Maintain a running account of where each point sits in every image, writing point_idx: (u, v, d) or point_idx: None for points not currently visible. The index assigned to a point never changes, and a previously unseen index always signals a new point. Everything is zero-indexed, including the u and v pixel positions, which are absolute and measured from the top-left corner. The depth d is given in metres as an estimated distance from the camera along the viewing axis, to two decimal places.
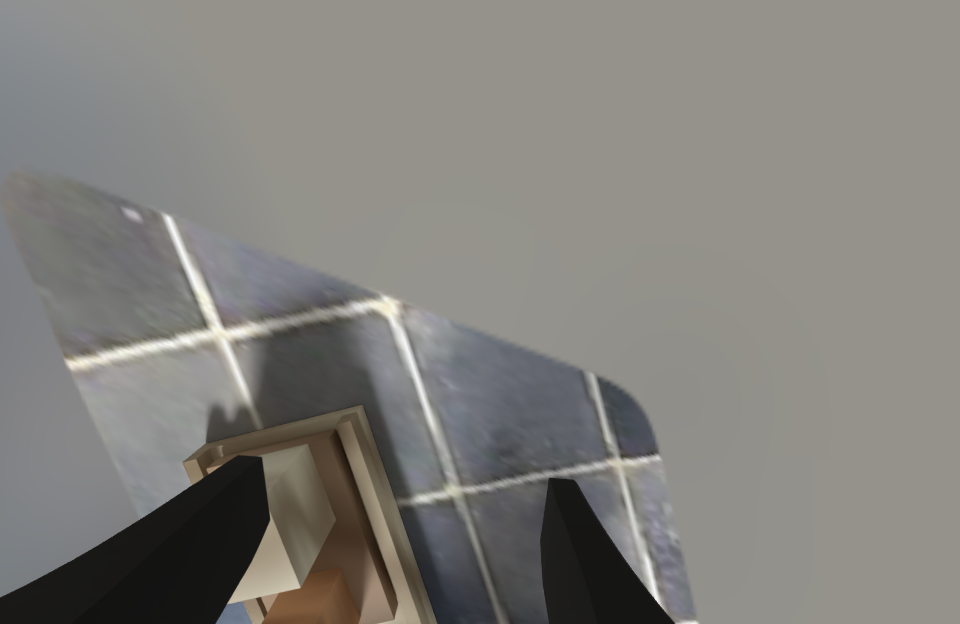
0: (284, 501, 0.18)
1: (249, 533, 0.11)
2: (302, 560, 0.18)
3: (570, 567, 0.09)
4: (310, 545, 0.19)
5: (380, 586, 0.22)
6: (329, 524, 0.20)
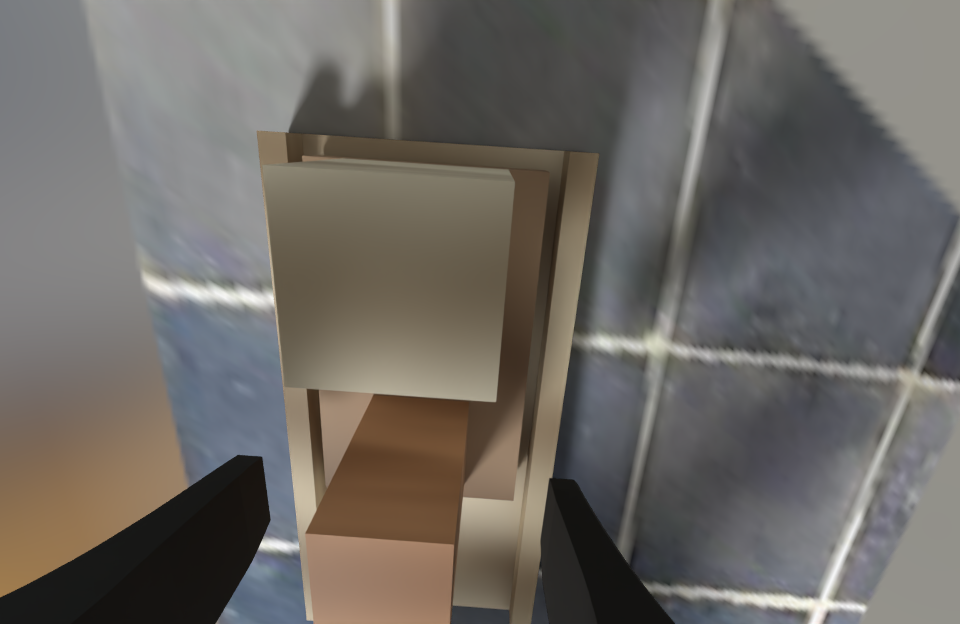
0: None
1: (249, 533, 0.11)
2: None
3: (570, 567, 0.09)
4: None
5: (516, 447, 0.14)
6: None
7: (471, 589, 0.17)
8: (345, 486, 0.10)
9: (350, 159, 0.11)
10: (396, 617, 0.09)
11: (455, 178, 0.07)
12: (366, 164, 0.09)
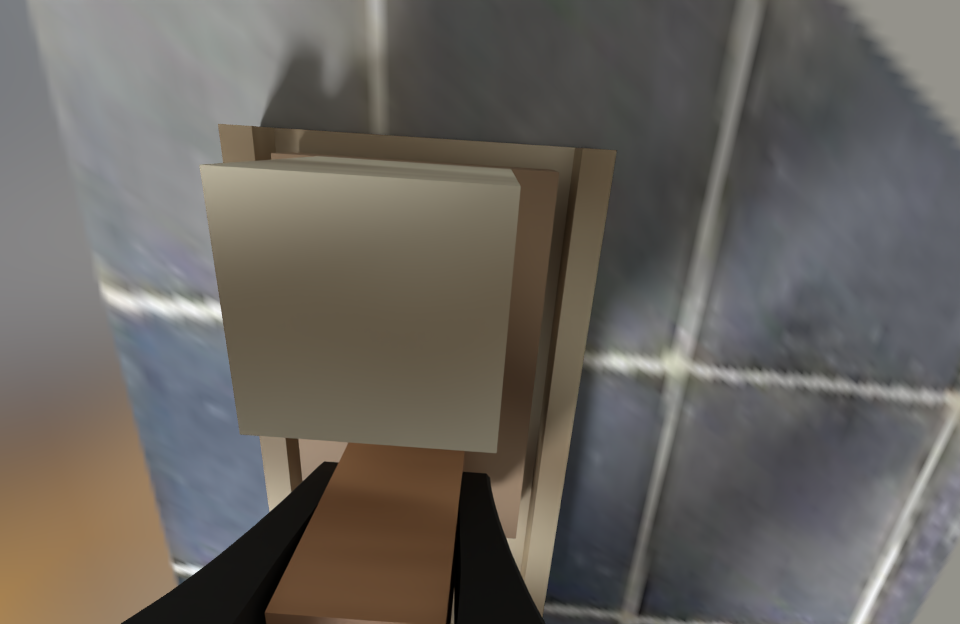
0: None
1: None
2: None
3: (459, 558, 0.09)
4: None
5: (519, 481, 0.12)
6: None
7: None
8: (318, 545, 0.08)
9: (326, 157, 0.09)
10: None
11: (444, 182, 0.06)
12: (340, 163, 0.07)
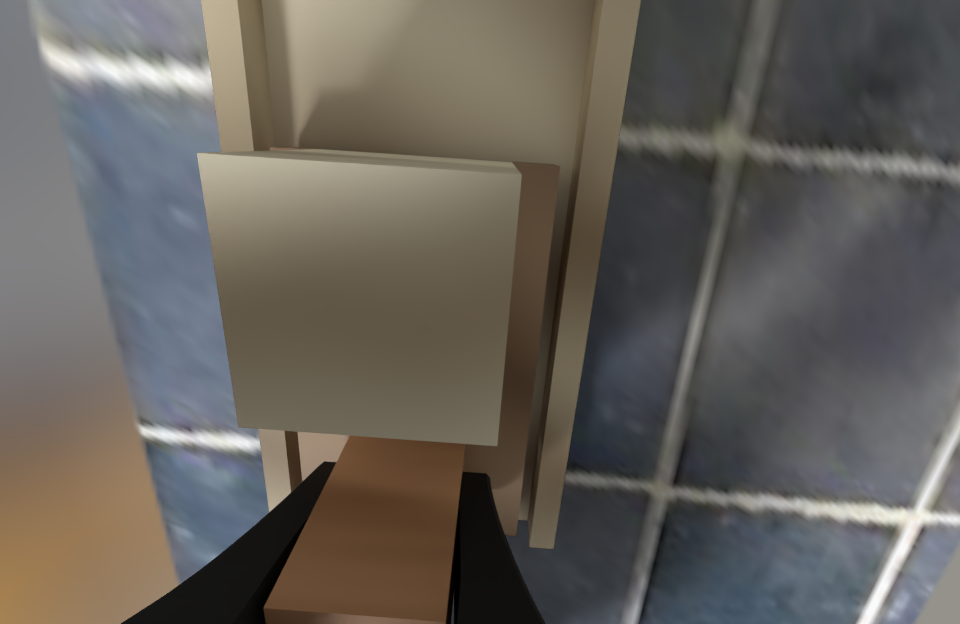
0: None
1: None
2: None
3: (459, 559, 0.09)
4: None
5: (519, 478, 0.12)
6: None
7: None
8: (317, 540, 0.08)
9: (325, 150, 0.09)
10: None
11: (445, 170, 0.06)
12: (339, 155, 0.07)
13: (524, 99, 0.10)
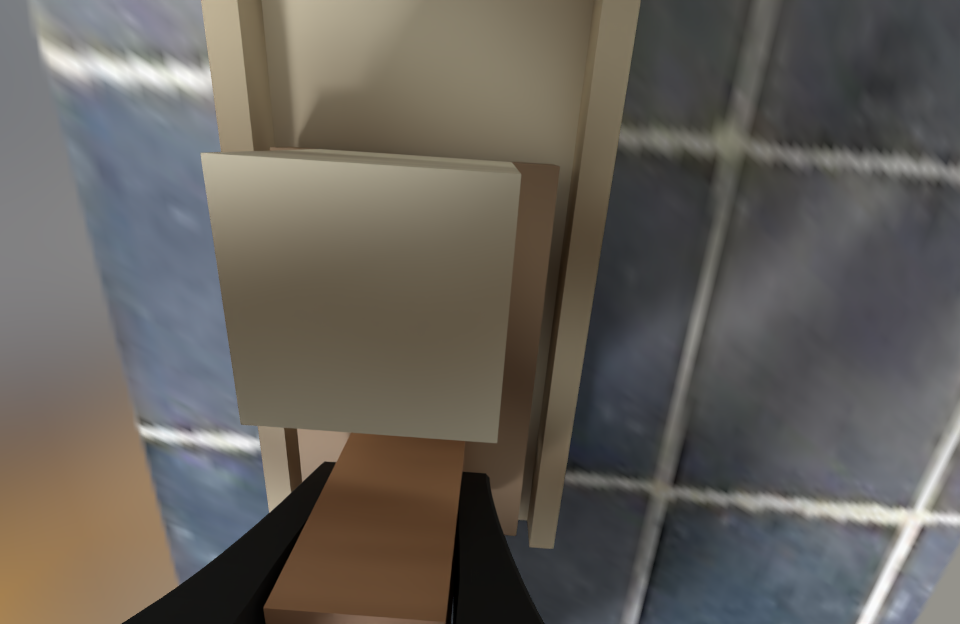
0: None
1: None
2: None
3: (458, 558, 0.09)
4: None
5: (519, 478, 0.12)
6: None
7: None
8: (317, 540, 0.08)
9: (326, 150, 0.09)
10: None
11: (445, 170, 0.06)
12: (341, 154, 0.07)
13: (524, 99, 0.10)
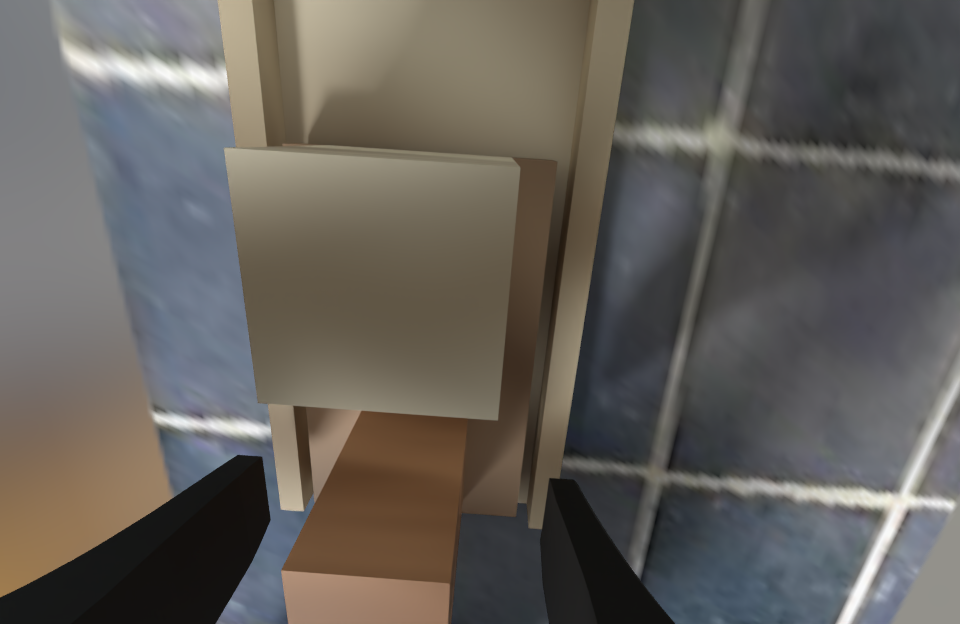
0: None
1: (249, 533, 0.11)
2: None
3: (570, 567, 0.09)
4: None
5: (519, 461, 0.13)
6: None
7: None
8: (329, 512, 0.09)
9: (335, 146, 0.10)
10: None
11: (450, 163, 0.06)
12: (350, 150, 0.08)
13: (523, 97, 0.10)
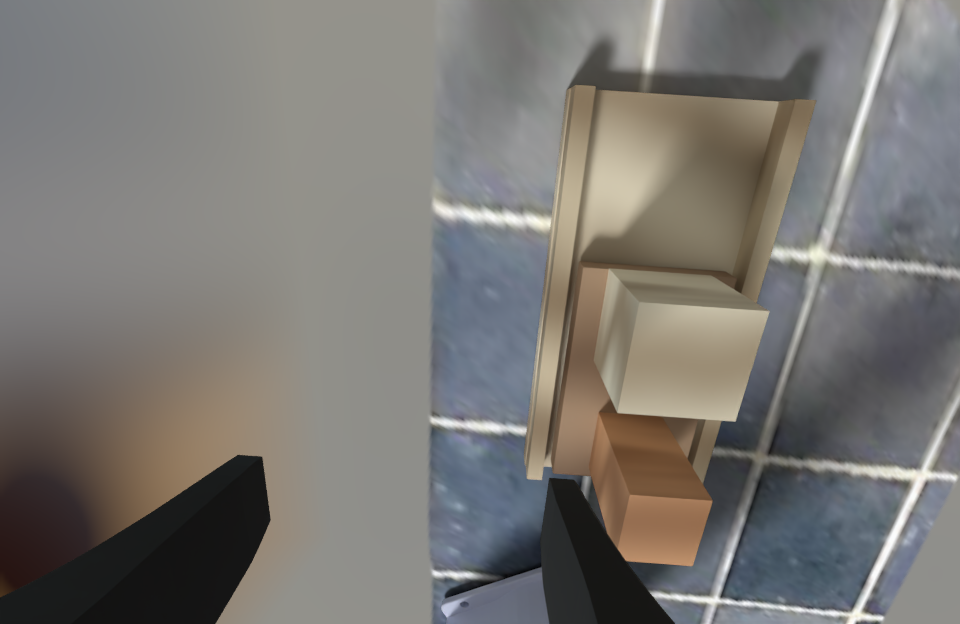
0: None
1: (249, 533, 0.11)
2: None
3: (570, 567, 0.09)
4: None
5: (688, 446, 0.20)
6: None
7: None
8: (630, 469, 0.16)
9: (617, 270, 0.17)
10: (667, 543, 0.16)
11: (737, 309, 0.14)
12: (653, 285, 0.16)
13: (711, 237, 0.18)
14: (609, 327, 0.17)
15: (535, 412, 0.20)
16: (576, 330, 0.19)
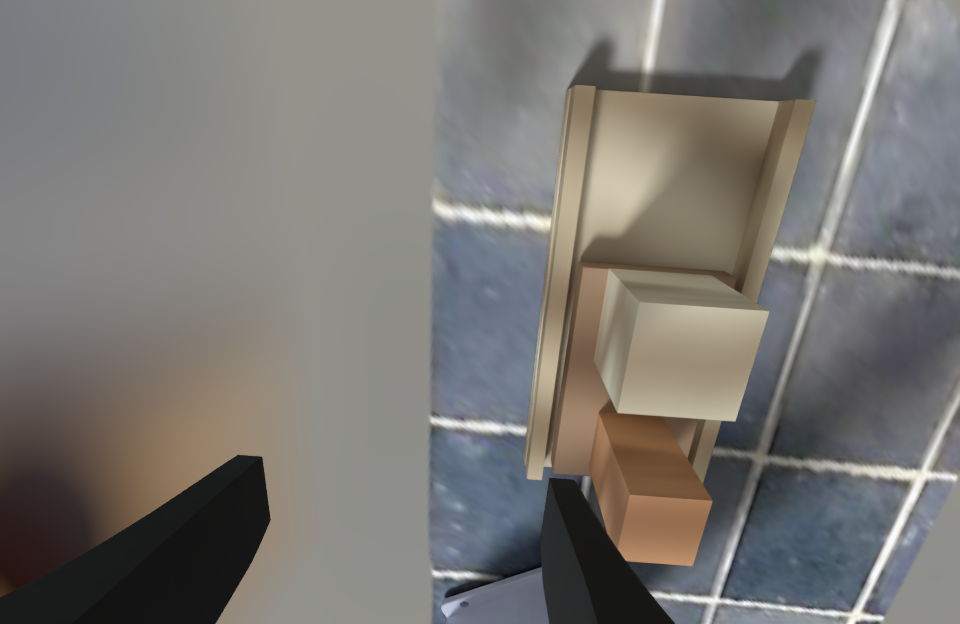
0: None
1: (249, 533, 0.11)
2: None
3: (570, 567, 0.09)
4: None
5: (688, 446, 0.20)
6: None
7: None
8: (630, 469, 0.16)
9: (617, 270, 0.17)
10: (667, 543, 0.16)
11: (737, 308, 0.14)
12: (653, 285, 0.16)
13: (711, 237, 0.18)
14: (609, 327, 0.17)
15: (535, 412, 0.20)
16: (576, 330, 0.19)
